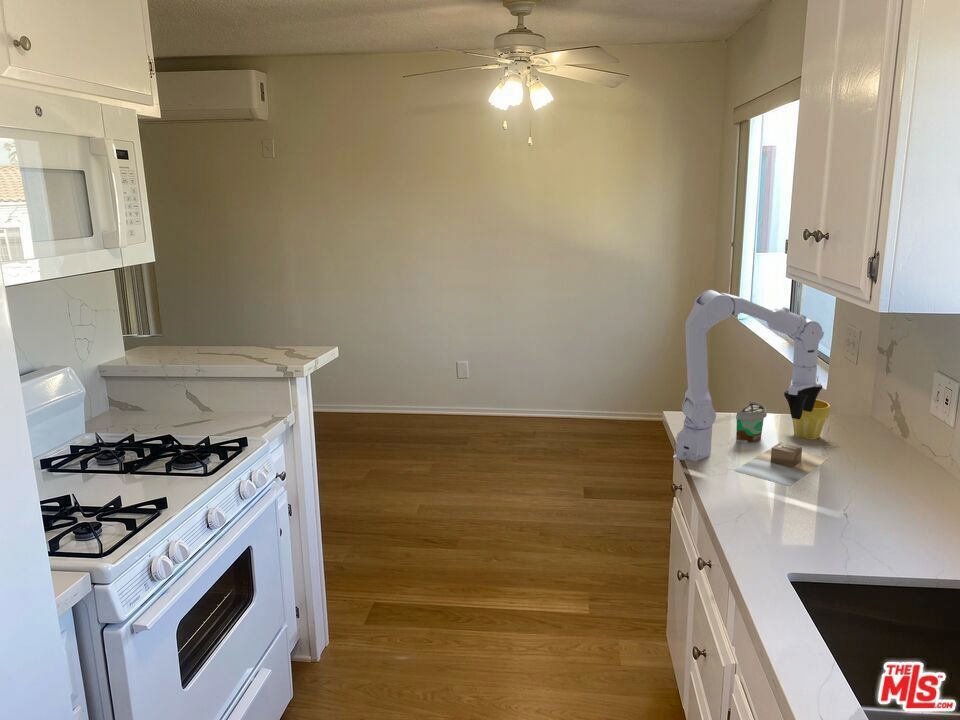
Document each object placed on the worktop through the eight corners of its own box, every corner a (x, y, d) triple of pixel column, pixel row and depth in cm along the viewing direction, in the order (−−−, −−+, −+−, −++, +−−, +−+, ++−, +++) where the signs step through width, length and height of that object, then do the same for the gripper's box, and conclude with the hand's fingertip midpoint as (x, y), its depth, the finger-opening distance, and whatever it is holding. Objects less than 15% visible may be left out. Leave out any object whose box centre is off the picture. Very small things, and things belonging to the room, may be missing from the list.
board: (789, 490, 170) (789, 486, 170) (733, 474, 180) (733, 470, 180) (829, 461, 186) (829, 458, 186) (775, 448, 196) (776, 445, 196)
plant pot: (829, 432, 207) (832, 400, 205) (824, 444, 199) (827, 410, 196) (791, 427, 213) (793, 395, 210) (784, 438, 204) (787, 405, 202)
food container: (757, 450, 195) (759, 415, 193) (734, 446, 199) (736, 411, 196) (770, 437, 205) (772, 404, 202) (748, 433, 208) (750, 400, 206)
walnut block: (791, 467, 181) (793, 452, 180) (770, 462, 184) (771, 447, 183) (801, 461, 184) (802, 446, 183) (779, 456, 188) (780, 441, 187)
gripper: (809, 373, 179) (806, 424, 183) (831, 361, 189) (828, 410, 193) (781, 369, 184) (778, 419, 188) (804, 357, 194) (801, 405, 197)
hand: (801, 414), depth 190 cm, fingers open, 7 cm apart
